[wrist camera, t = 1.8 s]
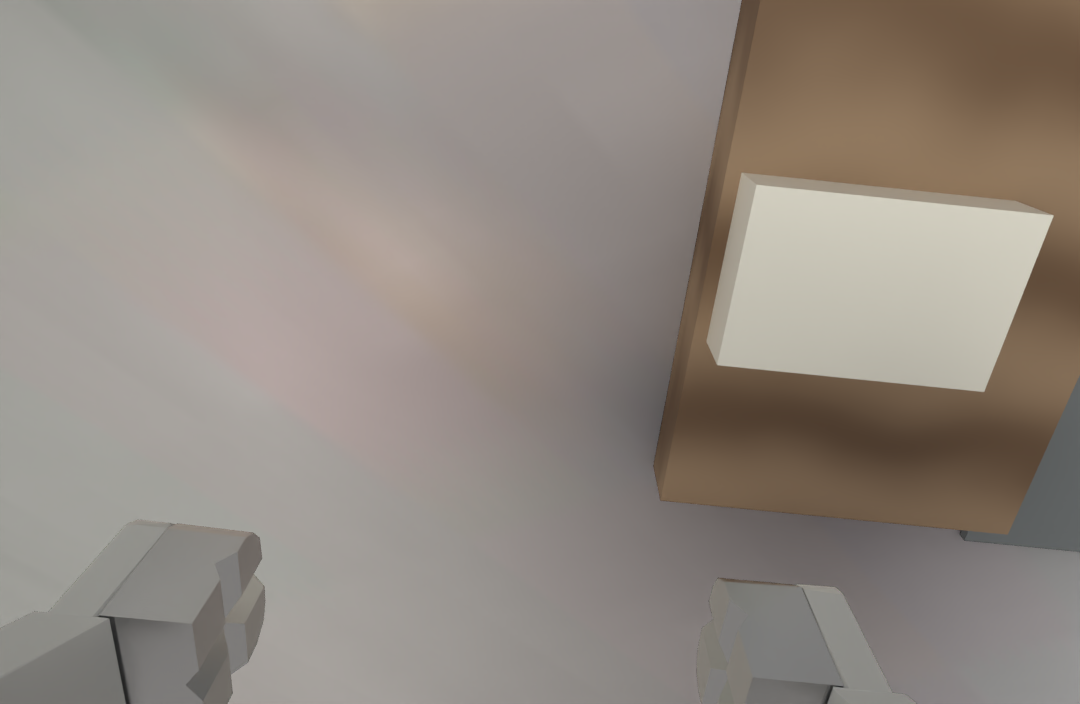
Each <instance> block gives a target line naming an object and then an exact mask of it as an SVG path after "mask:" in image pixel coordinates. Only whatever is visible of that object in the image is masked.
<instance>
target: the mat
mask: <svg viewBox="0 0 1080 704" xmlns="http://www.w3.org/2000/svg"><path fill="white" fill-rule="evenodd" d="M960 536H961V537H962V538H963V539H964V541H974V542H984V543H994V544H1004V545H1015V546H1025V547H1035V548H1045V549H1055V550H1066V551H1076V552H1080V376H1079V378H1078V380H1077V382H1076V384H1075V387H1074V389H1073V391H1072V393H1071V396H1070V398H1069V400H1068V402H1067V404H1066V407H1065V409H1064V411H1063V413H1062V415H1061V418H1060V420H1059V422H1058V424H1057V427H1056V429H1055V431H1054V433H1053V435H1052V438H1051V440H1050V442H1049V444H1048V446H1047V449H1046V451H1045V453H1044V455H1043V458H1042V460H1041V462H1040V464H1039V466H1038V469H1037V471H1036V473H1035V475H1034V478H1033V480H1032V482H1031V484H1030V486H1029V489H1028V491H1027V493H1026V495H1025V497H1024V500H1023V502H1022V504H1021V506H1020V509H1019V511H1018V513H1017V515H1016V517H1015V520H1014V522H1013V524H1012V526H1011V528H1010V531H1009V533H1008V535H1006V534H996V533H986V532H975V531H965V530H962V531H961V533H960Z"/></svg>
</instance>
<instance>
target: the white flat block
mask: <svg viewBox="0 0 1080 704" xmlns="http://www.w3.org/2000/svg"><path fill="white" fill-rule="evenodd" d="M1053 216H1054V215H1051V214H1049V213H1046V212H1043V211H1041V210H1038V209H1036V208H1033V207H1030V206H1028V205H1025V204H1023V203H1020V202H1017V201H1012V200H1003V199H993V198H983V197H974V196H964V195H954V194H945V193H935V192H925V191H916V190H906V189H896V188H886V187H877V186H867V185H857V184H848V183H838V182H828V181H819V180H809V179H799V178H790V177H780V176H770V175H761V174H751V173H741V178H740V183H739V187H738V192H737V197H736V202H735V207H734V211H733V216H732V221H731V226H730V231H729V235H728V240H727V245H726V250H725V255H724V259H723V264H722V269H721V274H720V279H719V283H718V288H717V293H716V298H715V303H714V307H713V312H712V317H711V322H710V327H709V331H708V336H707V341H706V342H707V344H708V346H709V348H710V351H711V353H712V355H713V357H714V359H715V362H716V364H717V365H720V366H730V367H740V368H750V369H760V370H770V371H780V372H790V373H800V374H810V375H819V376H829V377H839V378H849V379H859V380H869V381H879V382H889V383H899V384H909V385H919V386H929V387H939V388H949V389H959V390H969V391H979V392H984V391H985V388H986V386H987V383H988V381H989V378H990V376H991V373H992V371H993V368H994V366H995V363H996V361H997V358H998V356H999V353H1000V350H1001V348H1002V345H1003V343H1004V340H1005V338H1006V335H1007V333H1008V330H1009V328H1010V325H1011V323H1012V320H1013V318H1014V315H1015V312H1016V310H1017V307H1018V305H1019V302H1020V300H1021V297H1022V295H1023V292H1024V290H1025V287H1026V285H1027V282H1028V279H1029V277H1030V274H1031V272H1032V269H1033V267H1034V264H1035V262H1036V259H1037V257H1038V254H1039V252H1040V249H1041V247H1042V244H1043V241H1044V239H1045V236H1046V234H1047V231H1048V229H1049V226H1050V224H1051V221H1052V219H1053Z"/></svg>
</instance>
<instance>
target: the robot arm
mask: <svg viewBox="0 0 1080 704" xmlns="http://www.w3.org/2000/svg"><path fill="white" fill-rule="evenodd" d="M261 560H262V552H261V544H260V537H258V536H257V535H256V534H255V533H253V532H244V531H236V530H228V529H220V528H211V527H203V526H195V525H186V524H178V523H177V524H172V523H164V522H155V521H147V520H139V519H137V520H135V521H133V522H130V523H128V524H126V525H125V526H124V527H123V528H122V529H121V530H120V531H119V533H118V534H117V535H116V536H115V537H114V538H113V539H112V540H111V542H110V543H109V544H108V545H107V546H106V547H105V548H104V549H103V551H102V552H101V553H100V554H99V555H98V556H97V557H96V558H95V560H94V561H93V562H92V563H91V564H90V565H89V566H88V568H87V569H86V570H85V571H84V572H83V573H82V574H81V575H80V577H79V578H78V579H77V580H76V581H75V582H74V583H73V584H72V586H71V587H70V588H69V589H68V590H67V591H66V592H65V593H64V595H63V596H62V597H61V598H60V599H59V600H58V601H57V602H56V604H55V605H54V606H53V607H52V608H51V609H50V610H49V611H48V612H38V611H34V612H32V613H30V614H28V615H26V616H24V617H22V618H20V619H18V620H15V621H13V622H11V623H9V624H7V625H5V626H3V627H1V628H0V704H228V702H229V700H230V698H231V696H232V694H233V690H232V680H231V674H232V673H234V672H235V671H237V670H238V669H239V668H241V667H242V666H244V665H245V664H247V663H248V662H249V659H250V657H251V655H252V653H253V651H254V649H255V647H256V645H257V642H258V638H259V635H260V631H261V628H262V624H263V620H264V611H265V587H264V585H263V584H262V583H261V582H260V580H259V579H258V578H257V577H256V576H255V575H254V572H255V571H256V569H257V567H258V565H259V563H260V562H261ZM709 605H710V609H711V613H712V617H713V620H712V621H710V622H709V623H708V624H707V625H705V626H704V627H703V628H702V630H701V635H700V640H699V644H698V650H697V668H696V672H697V683H698V691H699V696H700V702H701V704H917V703H916V702H914V701H913V700H912V699H911V698H909V697H908V696H907V695H906V694H899V693H893V692H892V690H891V688H890V686H889V684H888V682H887V680H886V678H885V676H884V674H883V672H882V670H881V668H880V666H879V664H878V662H877V660H876V658H875V656H874V654H873V652H872V650H871V649H870V647H869V645H868V643H867V641H866V639H865V637H864V635H863V633H862V631H861V629H860V627H859V625H858V623H857V621H856V619H855V617H854V615H853V613H852V611H851V609H850V607H849V605H848V603H847V601H846V599H845V597H844V595H843V593H842V592H841V591H840V590H838V589H837V588H836V587H829V586H816V585H803V584H796V585H792V584H781V583H770V582H759V581H748V580H737V579H726V578H717V580H716V582H715V583H714V585H713V587H712V591H711V595H710V599H709Z"/></svg>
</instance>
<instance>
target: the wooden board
mask: <svg viewBox="0 0 1080 704" xmlns="http://www.w3.org/2000/svg"><path fill="white" fill-rule="evenodd" d="M741 173H751V174H761V175H770V176H780V177H790V178H799V179H809V180H819V181H828V182H838V183H848V184H857V185H867V186H877V187H886V188H896V189H906V190H916V191H925V192H935V193H945V194H954V195H964V196H974V197H983V198H993V199H1003V200H1012V201H1017V202H1020V203H1023V204H1025V205H1028V206H1030V207H1033V208H1036V209H1038V210H1041V211H1043V212H1046V213H1049V214H1051V215H1054V216H1053V219H1052V221H1051V224H1050V226H1049V229H1048V231H1047V234H1046V236H1045V239H1044V241H1043V244H1042V247H1041V249H1040V252H1039V254H1038V257H1037V259H1036V262H1035V264H1034V267H1033V269H1032V272H1031V274H1030V277H1029V279H1028V282H1027V285H1026V287H1025V290H1024V292H1023V295H1022V297H1021V300H1020V302H1019V305H1018V307H1017V310H1016V312H1015V315H1014V318H1013V320H1012V323H1011V325H1010V328H1009V330H1008V333H1007V335H1006V338H1005V340H1004V343H1003V345H1002V348H1001V350H1000V353H999V356H998V358H997V361H996V363H995V366H994V368H993V371H992V373H991V376H990V378H989V381H988V383H987V386H986V388H985V391H984V392H979V391H969V390H959V389H949V388H939V387H929V386H919V385H909V384H899V383H889V382H879V381H869V380H859V379H849V378H839V377H829V376H819V375H810V374H800V373H790V372H780V371H770V370H760V369H750V368H740V367H730V366H720V365H717V364H716V362H715V359H714V357H713V355H712V353H711V351H710V348H709V346H708V344H707V342H706V341H707V336H708V331H709V327H710V322H711V317H712V312H713V307H714V303H715V298H716V293H717V288H718V283H719V279H720V274H721V269H722V264H723V259H724V255H725V250H726V245H727V240H728V235H729V231H730V226H731V221H732V216H733V211H734V207H735V202H736V197H737V192H738V187H739V183H740V178H741ZM1079 376H1080V0H742V3H741V8H740V13H739V19H738V24H737V29H736V34H735V40H734V45H733V50H732V55H731V61H730V66H729V71H728V76H727V82H726V87H725V92H724V97H723V103H722V108H721V113H720V118H719V124H718V129H717V134H716V139H715V145H714V150H713V155H712V161H711V166H710V171H709V176H708V182H707V187H706V192H705V197H704V203H703V208H702V213H701V218H700V224H699V229H698V234H697V239H696V245H695V250H694V255H693V260H692V266H691V271H690V276H689V281H688V287H687V292H686V297H685V302H684V308H683V313H682V318H681V323H680V329H679V334H678V339H677V344H676V350H675V355H674V360H673V365H672V371H671V376H670V381H669V387H668V392H667V397H666V402H665V408H664V413H663V418H662V423H661V429H660V434H659V439H658V444H657V450H656V455H655V460H654V465H653V466H654V471H655V476H656V481H657V486H658V491H659V496H660V501H670V502H680V503H690V504H700V505H711V506H721V507H731V508H741V509H751V510H761V511H772V512H782V513H792V514H802V515H812V516H823V517H833V518H843V519H853V520H863V521H874V522H884V523H894V524H904V525H914V526H924V527H935V528H945V529H955V530H965V531H975V532H986V533H996V534H1006V535H1008V533H1009V531H1010V528H1011V526H1012V524H1013V522H1014V520H1015V517H1016V515H1017V513H1018V511H1019V509H1020V506H1021V504H1022V502H1023V500H1024V497H1025V495H1026V493H1027V491H1028V489H1029V486H1030V484H1031V482H1032V480H1033V478H1034V475H1035V473H1036V471H1037V469H1038V466H1039V464H1040V462H1041V460H1042V458H1043V455H1044V453H1045V451H1046V449H1047V446H1048V444H1049V442H1050V440H1051V438H1052V435H1053V433H1054V431H1055V429H1056V427H1057V424H1058V422H1059V420H1060V418H1061V415H1062V413H1063V411H1064V409H1065V407H1066V404H1067V402H1068V400H1069V398H1070V396H1071V393H1072V391H1073V389H1074V387H1075V384H1076V382H1077V380H1078V378H1079Z"/></svg>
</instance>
